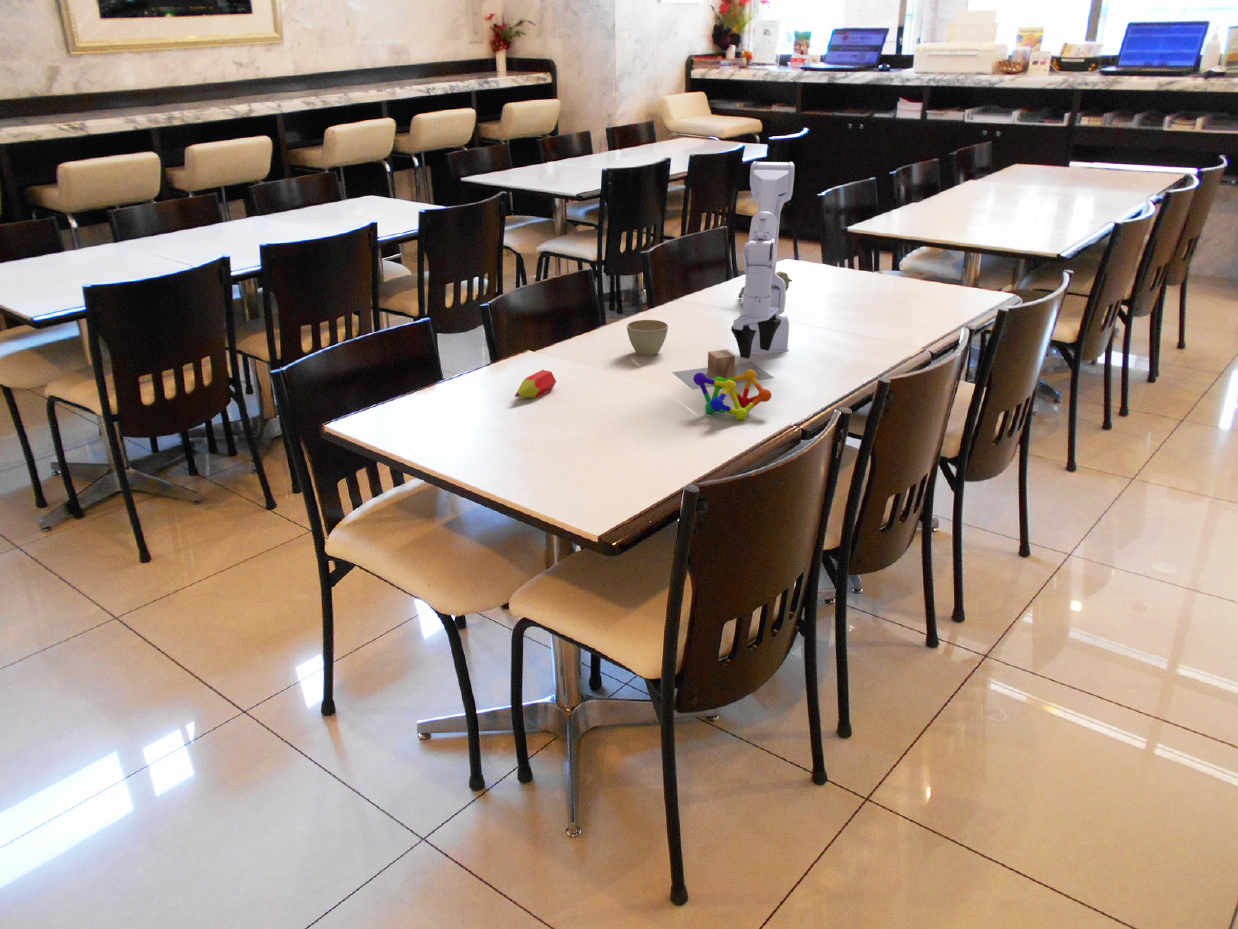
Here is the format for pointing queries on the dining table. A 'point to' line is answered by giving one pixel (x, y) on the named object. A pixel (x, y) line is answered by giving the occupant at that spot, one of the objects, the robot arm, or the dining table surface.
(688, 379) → the mat
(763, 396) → the decorative model
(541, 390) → the pencil
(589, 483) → the dining table surface
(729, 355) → the walnut cube
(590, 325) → the dining table surface
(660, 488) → the dining table surface
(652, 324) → the flower pot
